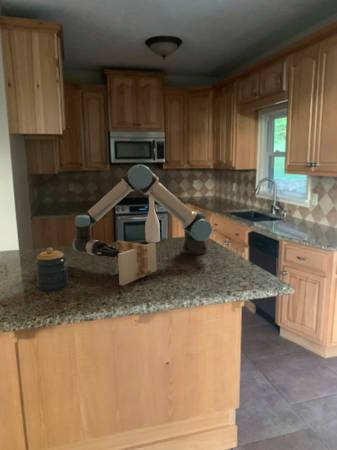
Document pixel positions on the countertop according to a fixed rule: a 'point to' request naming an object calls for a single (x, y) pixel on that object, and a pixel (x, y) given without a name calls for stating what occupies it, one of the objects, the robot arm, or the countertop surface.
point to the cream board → (134, 264)
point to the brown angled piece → (140, 255)
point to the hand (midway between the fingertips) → (132, 254)
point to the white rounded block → (152, 224)
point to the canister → (51, 271)
